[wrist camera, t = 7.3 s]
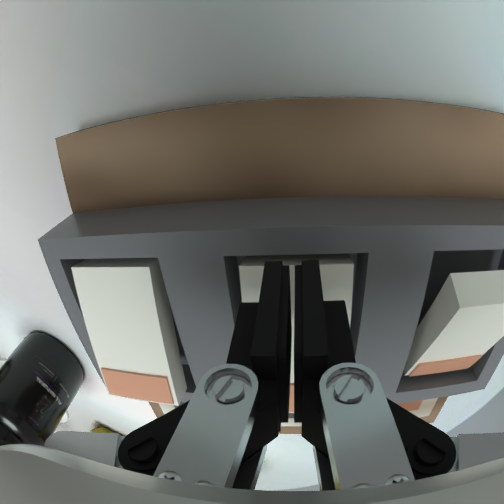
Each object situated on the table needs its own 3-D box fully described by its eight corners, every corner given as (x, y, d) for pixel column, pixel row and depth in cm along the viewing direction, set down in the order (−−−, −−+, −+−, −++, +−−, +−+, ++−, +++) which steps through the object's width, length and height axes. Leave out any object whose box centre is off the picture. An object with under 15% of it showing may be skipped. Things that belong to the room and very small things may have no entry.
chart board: (77, 131, 15) (51, 139, 13) (501, 113, 11) (527, 120, 9) (166, 404, 25) (158, 425, 23) (428, 403, 22) (434, 425, 20)
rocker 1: (88, 257, 14) (69, 268, 12) (162, 256, 13) (147, 268, 12) (120, 379, 16) (107, 396, 14) (187, 388, 15) (177, 407, 14)
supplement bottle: (90, 359, 24) (25, 474, 13) (81, 392, 27) (32, 487, 16) (27, 315, 22) (-50, 414, 12) (27, 355, 26) (-31, 440, 15)
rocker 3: (450, 273, 10) (460, 311, 9) (527, 268, 9) (540, 301, 8) (401, 350, 15) (404, 378, 14) (464, 343, 15) (469, 369, 14)
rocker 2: (245, 254, 13) (238, 267, 11) (348, 252, 12) (354, 265, 11) (255, 392, 15) (251, 413, 13) (338, 392, 14) (341, 414, 13)
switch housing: (72, 213, 15) (37, 239, 12) (515, 200, 12) (550, 226, 9) (125, 356, 19) (108, 390, 17) (469, 353, 16) (484, 388, 14)
